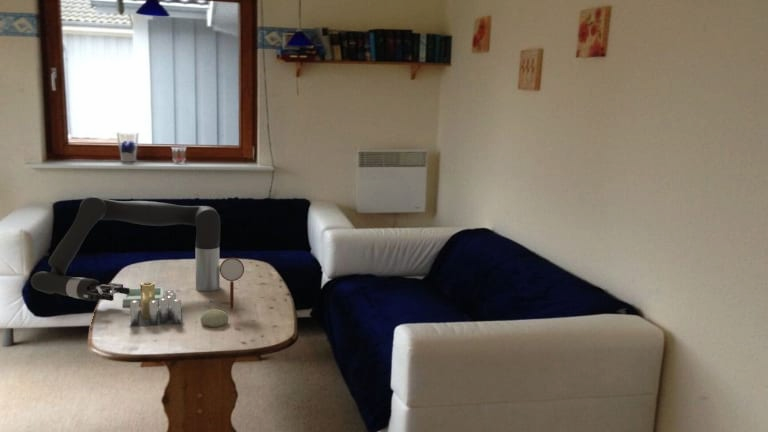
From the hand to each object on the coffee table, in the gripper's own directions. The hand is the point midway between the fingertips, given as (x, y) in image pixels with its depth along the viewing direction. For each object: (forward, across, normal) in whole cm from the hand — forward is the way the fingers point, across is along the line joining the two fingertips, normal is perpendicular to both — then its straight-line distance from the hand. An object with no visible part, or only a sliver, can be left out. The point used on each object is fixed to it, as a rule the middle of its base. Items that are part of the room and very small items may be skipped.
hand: (121, 294), depth 244 cm
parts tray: (-3, +16, +7) cm, 18 cm away
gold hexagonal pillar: (+11, 0, +7) cm, 13 cm away
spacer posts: (+15, 0, +7) cm, 16 cm away
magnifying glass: (+32, +20, +7) cm, 39 cm away
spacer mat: (+14, +1, +7) cm, 16 cm away
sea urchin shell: (+34, +5, +8) cm, 35 cm away
